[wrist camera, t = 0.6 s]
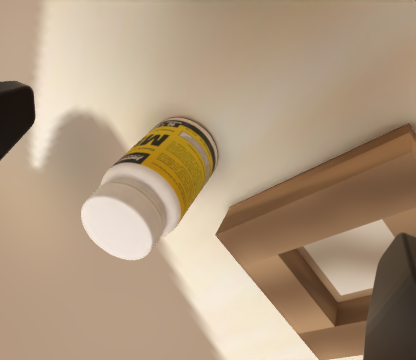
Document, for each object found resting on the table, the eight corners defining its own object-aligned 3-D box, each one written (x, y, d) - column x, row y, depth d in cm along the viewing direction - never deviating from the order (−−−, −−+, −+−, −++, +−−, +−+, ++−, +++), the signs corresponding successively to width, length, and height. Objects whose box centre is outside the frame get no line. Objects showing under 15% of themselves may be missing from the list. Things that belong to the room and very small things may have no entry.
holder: (510, 289, 23) (524, 332, 20) (324, 325, 30) (319, 360, 27) (408, 123, 20) (411, 151, 18) (229, 207, 27) (215, 235, 25)
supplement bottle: (185, 101, 24) (109, 172, 17) (234, 160, 25) (179, 249, 18) (138, 139, 27) (57, 213, 20) (183, 191, 28) (121, 277, 21)
